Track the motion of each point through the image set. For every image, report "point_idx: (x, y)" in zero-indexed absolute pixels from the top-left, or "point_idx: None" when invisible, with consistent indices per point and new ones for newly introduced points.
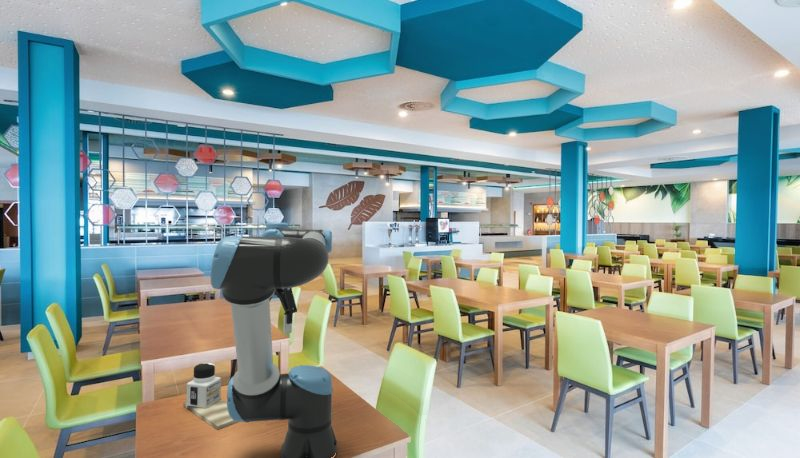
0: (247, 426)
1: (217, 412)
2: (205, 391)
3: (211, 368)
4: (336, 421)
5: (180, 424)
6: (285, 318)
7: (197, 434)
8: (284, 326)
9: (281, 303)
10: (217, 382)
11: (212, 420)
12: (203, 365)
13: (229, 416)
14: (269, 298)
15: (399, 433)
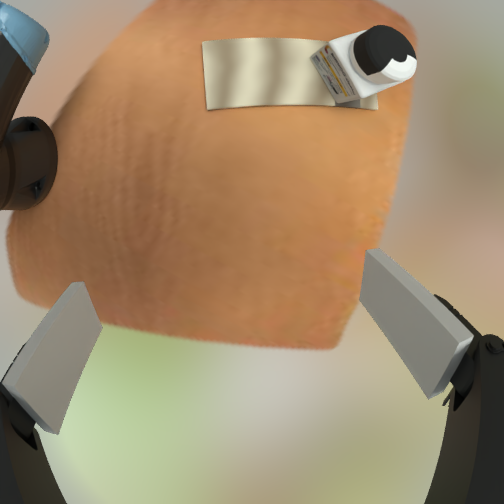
0: (171, 96)
1: (270, 64)
2: (325, 44)
3: (368, 54)
4: (85, 254)
5: (284, 8)
6: (20, 359)
7: (214, 14)
8: (52, 312)
9: (19, 493)
10: (350, 84)
11: (237, 42)
12: (392, 44)
13: (229, 74)
14: (440, 490)
15: (26, 300)
